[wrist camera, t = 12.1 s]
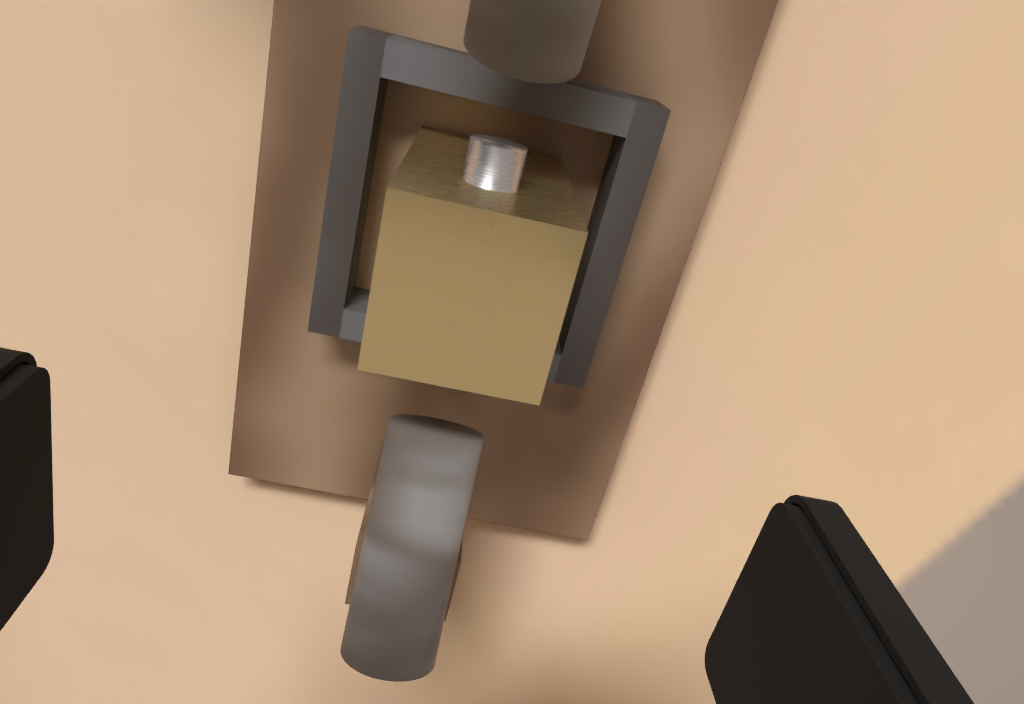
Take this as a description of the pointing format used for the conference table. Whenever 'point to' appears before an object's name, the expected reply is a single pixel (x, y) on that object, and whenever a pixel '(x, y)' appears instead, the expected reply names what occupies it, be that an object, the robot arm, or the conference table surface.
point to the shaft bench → (353, 244)
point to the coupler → (473, 266)
